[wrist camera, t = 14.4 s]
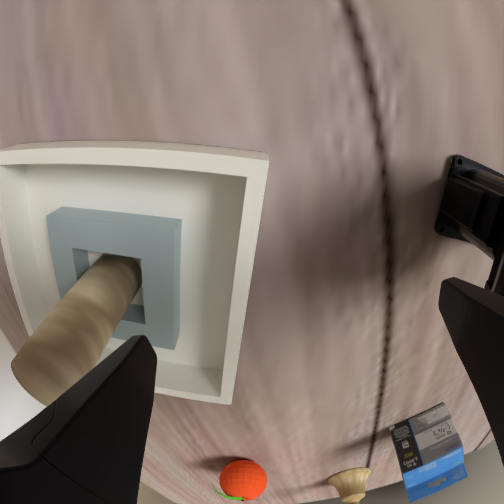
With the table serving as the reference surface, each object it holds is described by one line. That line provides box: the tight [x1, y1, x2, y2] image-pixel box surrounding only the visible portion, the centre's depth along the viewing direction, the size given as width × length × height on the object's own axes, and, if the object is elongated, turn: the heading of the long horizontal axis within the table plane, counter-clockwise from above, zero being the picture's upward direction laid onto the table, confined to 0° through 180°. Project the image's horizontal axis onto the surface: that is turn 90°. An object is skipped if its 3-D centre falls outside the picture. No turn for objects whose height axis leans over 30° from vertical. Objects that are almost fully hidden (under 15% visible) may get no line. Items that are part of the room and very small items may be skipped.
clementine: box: [212, 460, 267, 501], centre depth 33 cm, size 8×7×7 cm
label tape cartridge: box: [389, 403, 468, 503], centre depth 27 cm, size 9×4×12 cm, turn 116°
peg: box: [11, 253, 142, 406], centre depth 16 cm, size 4×4×12 cm
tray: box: [0, 140, 269, 405], centre depth 20 cm, size 20×20×4 cm
